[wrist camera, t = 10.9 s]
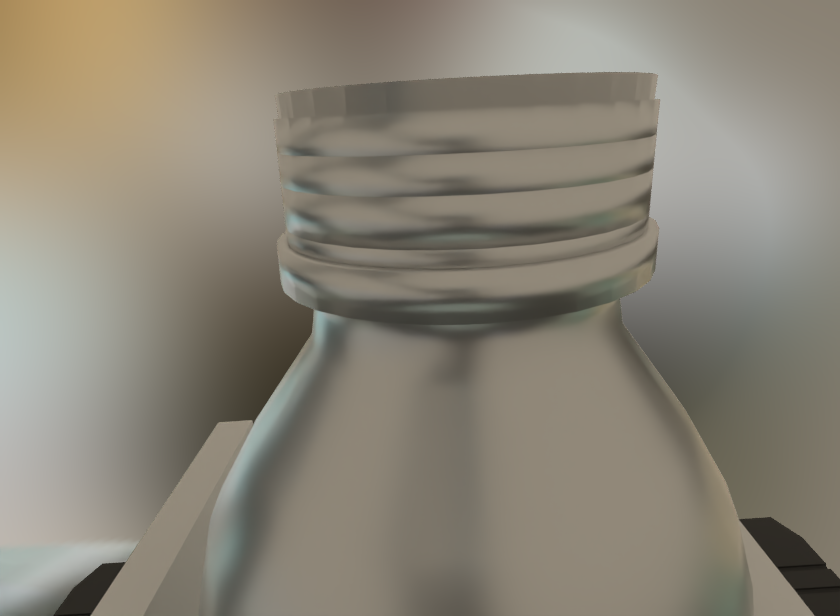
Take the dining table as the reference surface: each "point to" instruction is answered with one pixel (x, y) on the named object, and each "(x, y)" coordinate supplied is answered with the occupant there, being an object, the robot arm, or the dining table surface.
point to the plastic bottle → (472, 370)
